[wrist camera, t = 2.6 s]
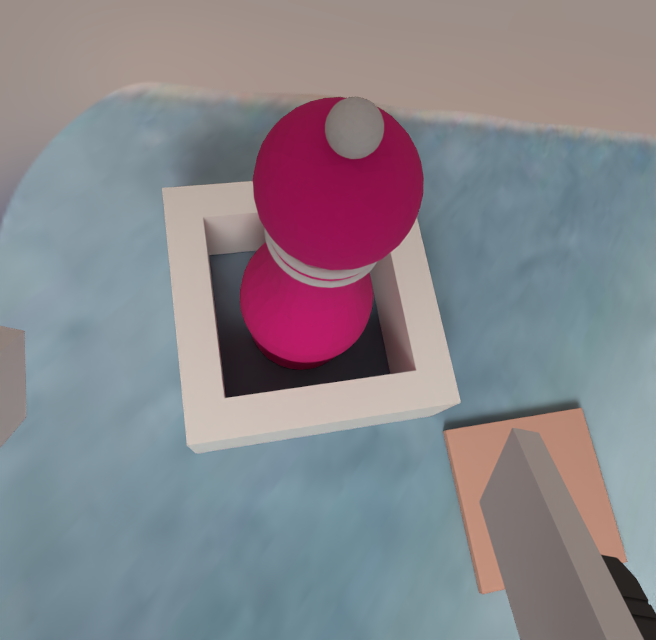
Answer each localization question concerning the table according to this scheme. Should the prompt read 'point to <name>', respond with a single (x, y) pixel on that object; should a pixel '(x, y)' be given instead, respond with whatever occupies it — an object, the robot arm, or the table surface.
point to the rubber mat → (571, 461)
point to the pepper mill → (326, 226)
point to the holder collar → (310, 401)
